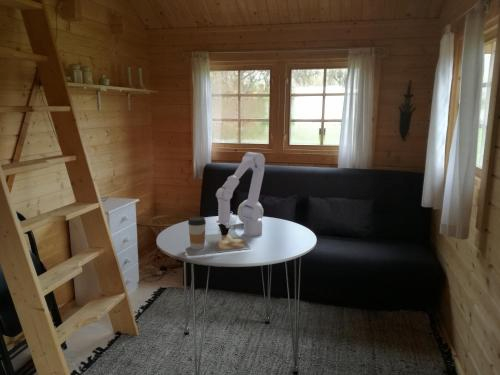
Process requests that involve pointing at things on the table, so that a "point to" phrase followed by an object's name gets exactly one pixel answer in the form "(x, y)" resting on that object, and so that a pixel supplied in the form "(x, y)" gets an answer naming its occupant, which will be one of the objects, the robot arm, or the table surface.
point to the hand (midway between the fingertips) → (224, 238)
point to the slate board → (214, 238)
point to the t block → (229, 242)
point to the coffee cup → (197, 232)
